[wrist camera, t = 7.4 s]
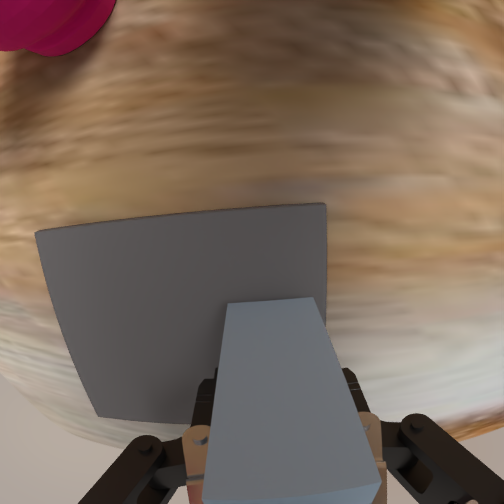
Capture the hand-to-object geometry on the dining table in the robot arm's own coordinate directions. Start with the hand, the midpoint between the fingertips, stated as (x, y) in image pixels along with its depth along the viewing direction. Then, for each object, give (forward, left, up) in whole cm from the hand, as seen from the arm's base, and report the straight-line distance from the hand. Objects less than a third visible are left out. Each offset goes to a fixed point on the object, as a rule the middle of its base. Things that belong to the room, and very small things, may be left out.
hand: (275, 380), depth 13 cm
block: (0, 0, -2) cm, 2 cm away
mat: (0, -5, -4) cm, 7 cm away
